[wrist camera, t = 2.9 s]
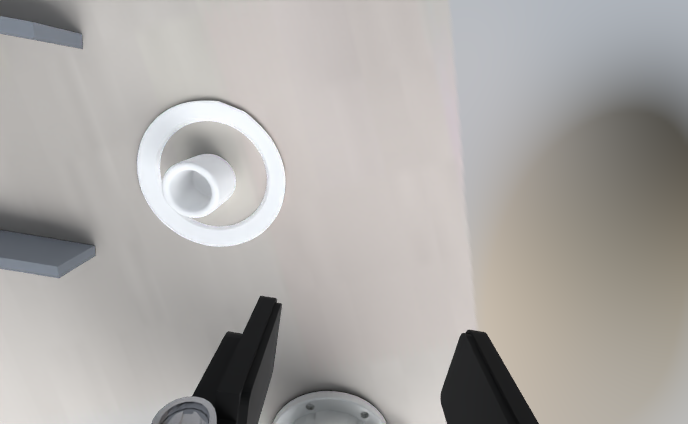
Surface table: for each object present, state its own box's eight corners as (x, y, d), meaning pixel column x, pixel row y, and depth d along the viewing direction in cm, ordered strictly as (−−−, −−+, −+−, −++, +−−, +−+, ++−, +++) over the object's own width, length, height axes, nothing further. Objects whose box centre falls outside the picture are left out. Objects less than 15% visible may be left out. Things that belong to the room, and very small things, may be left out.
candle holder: (233, 70, 26) (211, 65, 22) (313, 204, 29) (307, 222, 25) (112, 147, 28) (70, 155, 24) (199, 264, 31) (176, 290, 27)
